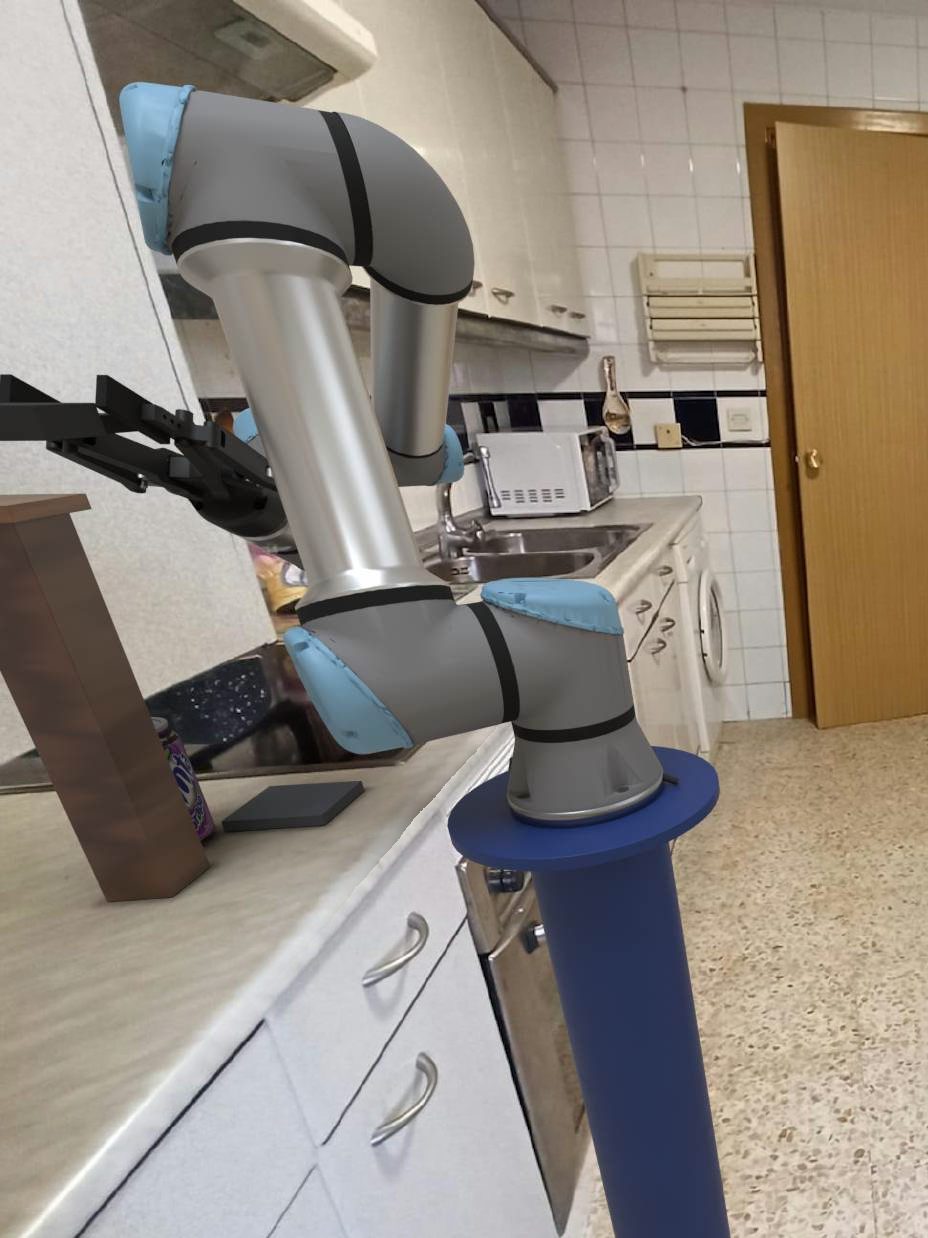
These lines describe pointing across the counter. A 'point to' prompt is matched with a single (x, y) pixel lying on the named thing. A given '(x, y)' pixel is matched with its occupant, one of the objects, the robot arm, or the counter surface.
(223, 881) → the counter surface
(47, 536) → the stand
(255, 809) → the base pad
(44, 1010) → the counter surface
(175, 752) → the beverage can
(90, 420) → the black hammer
